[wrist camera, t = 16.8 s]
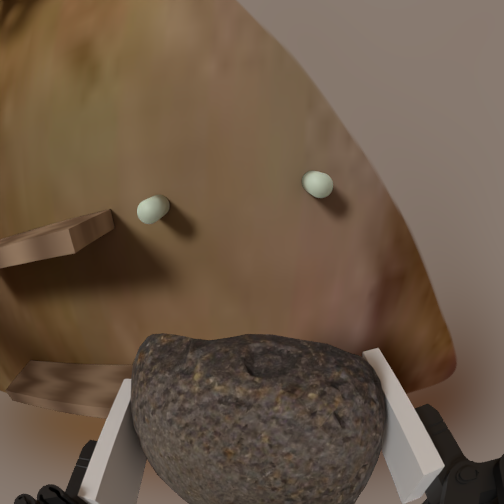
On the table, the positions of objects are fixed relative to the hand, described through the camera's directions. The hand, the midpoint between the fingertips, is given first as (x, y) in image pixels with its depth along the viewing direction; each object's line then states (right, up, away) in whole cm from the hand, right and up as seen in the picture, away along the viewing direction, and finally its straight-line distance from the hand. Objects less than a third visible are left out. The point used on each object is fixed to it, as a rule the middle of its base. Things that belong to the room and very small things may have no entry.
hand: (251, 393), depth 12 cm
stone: (0, 0, 0) cm, 1 cm away
